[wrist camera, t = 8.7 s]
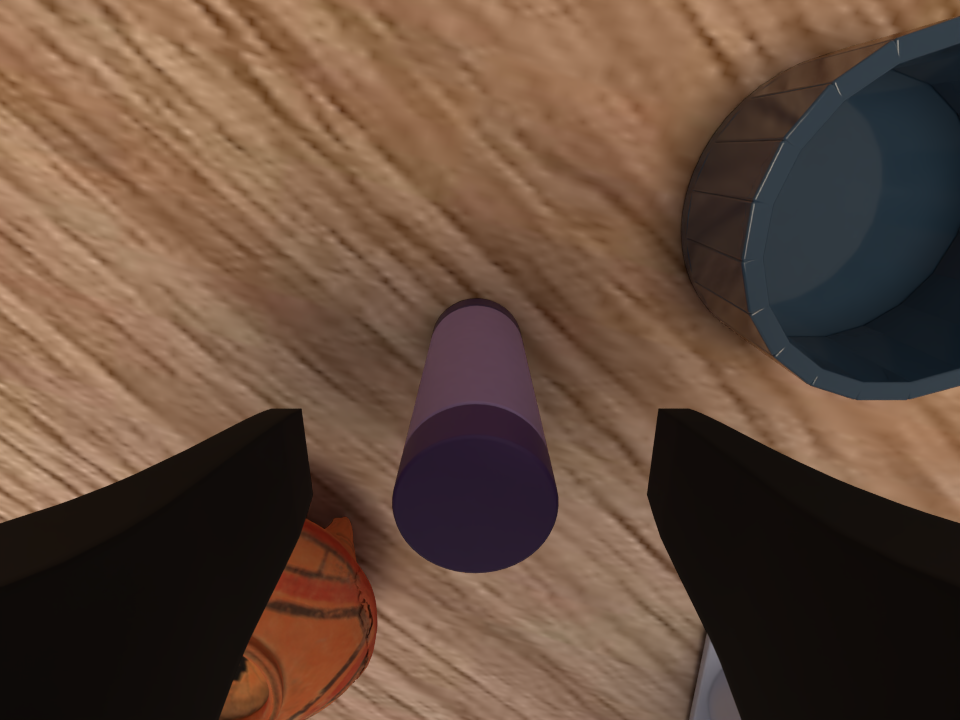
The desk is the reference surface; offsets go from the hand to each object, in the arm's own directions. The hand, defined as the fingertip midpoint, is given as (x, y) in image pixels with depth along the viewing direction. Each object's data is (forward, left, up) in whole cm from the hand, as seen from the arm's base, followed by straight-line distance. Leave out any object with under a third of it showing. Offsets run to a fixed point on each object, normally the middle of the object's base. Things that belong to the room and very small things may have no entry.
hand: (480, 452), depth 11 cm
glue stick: (0, 0, -7) cm, 7 cm away
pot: (-8, +7, -7) cm, 13 cm away
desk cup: (+4, -10, -7) cm, 13 cm away
